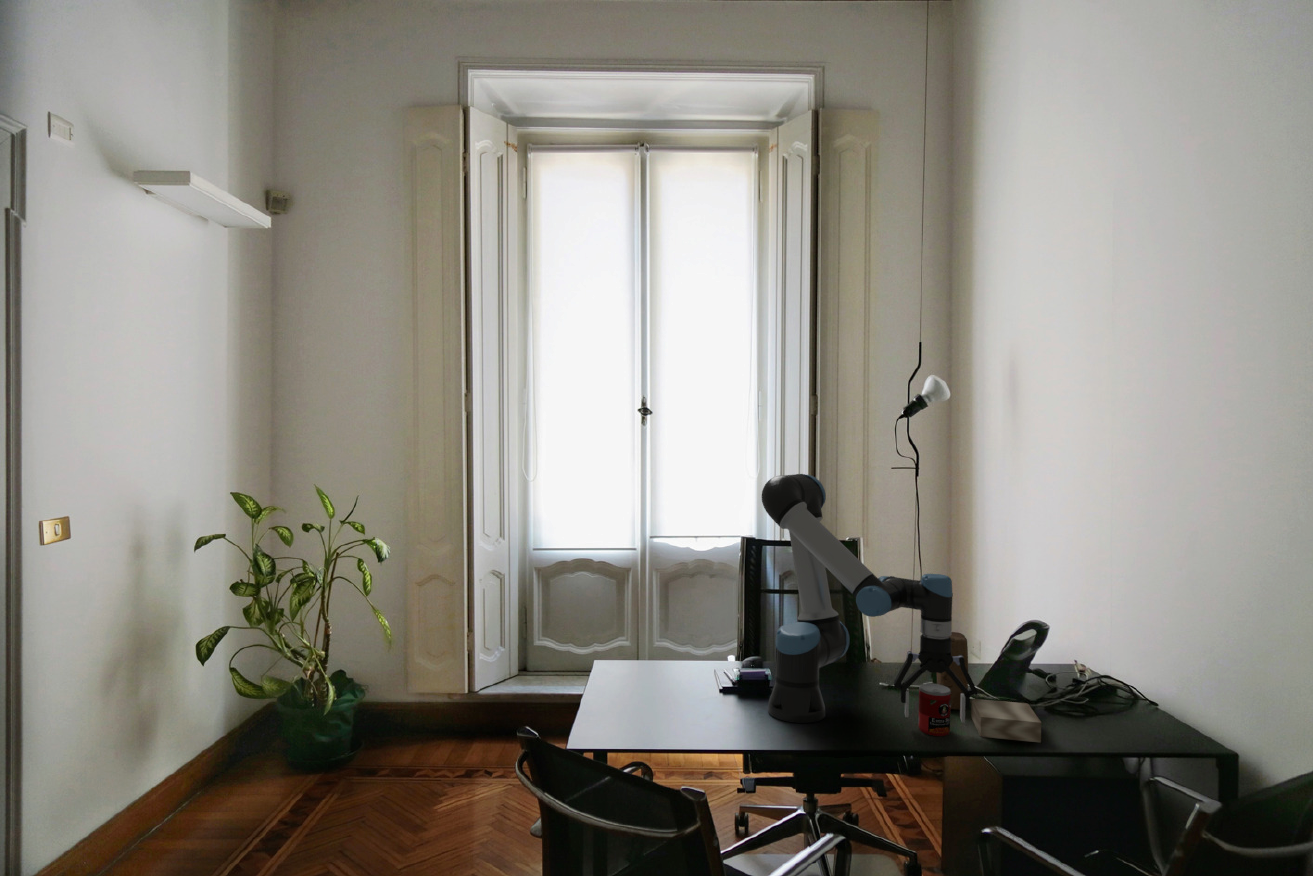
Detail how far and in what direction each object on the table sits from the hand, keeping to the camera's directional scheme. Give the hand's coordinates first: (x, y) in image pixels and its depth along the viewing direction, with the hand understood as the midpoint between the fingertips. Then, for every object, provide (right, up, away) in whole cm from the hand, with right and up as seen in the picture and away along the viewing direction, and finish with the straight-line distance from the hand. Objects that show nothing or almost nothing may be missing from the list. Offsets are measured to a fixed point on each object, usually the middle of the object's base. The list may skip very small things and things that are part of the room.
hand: (934, 718), depth 200 cm
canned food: (0, -4, 0) cm, 4 cm away
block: (+12, -4, +20) cm, 23 cm away
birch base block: (+19, -4, +2) cm, 19 cm away
